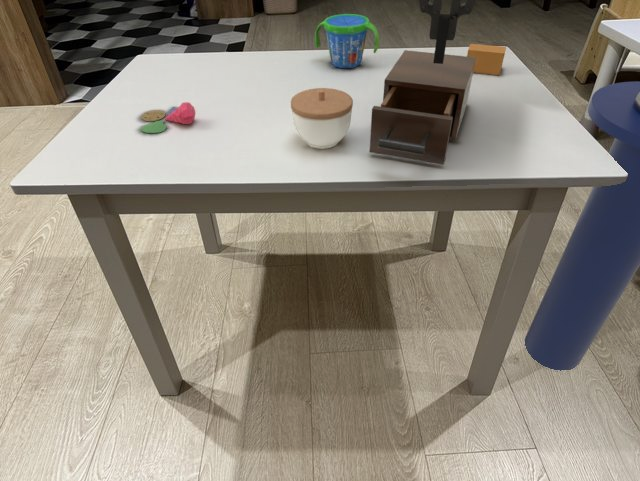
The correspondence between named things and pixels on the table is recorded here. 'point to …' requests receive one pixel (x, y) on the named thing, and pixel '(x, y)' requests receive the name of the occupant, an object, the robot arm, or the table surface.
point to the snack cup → (346, 38)
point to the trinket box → (322, 116)
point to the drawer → (413, 124)
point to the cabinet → (435, 78)
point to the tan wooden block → (487, 58)
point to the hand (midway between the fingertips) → (438, 60)
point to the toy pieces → (168, 117)
